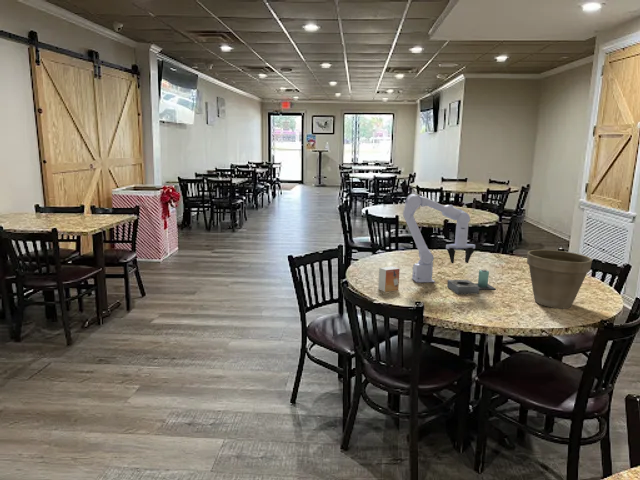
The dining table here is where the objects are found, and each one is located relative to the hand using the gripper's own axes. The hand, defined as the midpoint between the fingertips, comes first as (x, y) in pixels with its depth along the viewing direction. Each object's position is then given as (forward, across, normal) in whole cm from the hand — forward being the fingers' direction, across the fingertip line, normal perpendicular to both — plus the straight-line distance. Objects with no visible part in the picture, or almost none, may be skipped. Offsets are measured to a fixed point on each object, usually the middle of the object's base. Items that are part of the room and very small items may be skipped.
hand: (459, 262), depth 239 cm
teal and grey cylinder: (+9, +8, -10) cm, 16 cm away
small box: (+10, -39, -10) cm, 42 cm away
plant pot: (+10, +28, -36) cm, 47 cm away
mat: (+10, +8, -10) cm, 16 cm away
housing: (+10, -4, -14) cm, 18 cm away
